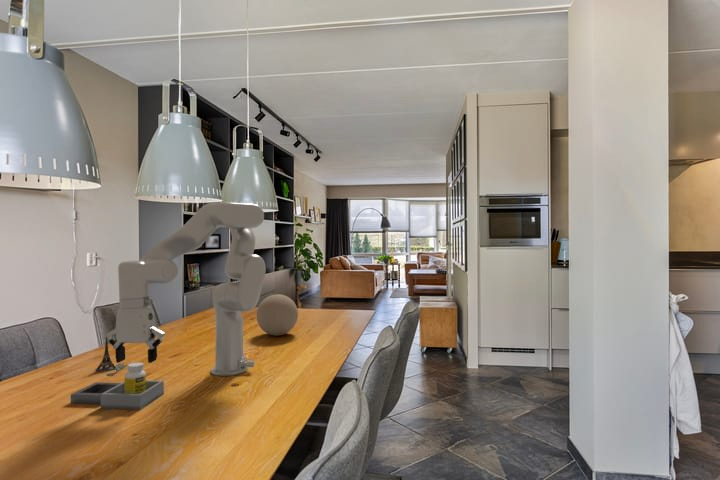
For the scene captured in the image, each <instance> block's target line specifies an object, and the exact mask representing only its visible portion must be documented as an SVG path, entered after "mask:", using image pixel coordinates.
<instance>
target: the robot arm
mask: <svg viewBox="0 0 720 480" xmlns="http://www.w3.org/2000/svg"><path fill="white" fill-rule="evenodd" d="M264 220H265V213H264V210H263V208H262V207H261V206H260V205H258V204H255V203H243V202H229V201H220V202H210V203H206V204H204V205H203V206H201V207H200V208H199V209H198V211H196V212H195V214H193V215H192V217H191V218H189V220H187V221H186V223H185V224H184V225H182V226H181V227H180V228H179V229H177V231H175V232H173V233H172V234H170V235H169V236H166V238H163V240H161V241H159V242H158V243H156V244H155V245H154V246H153V247H152V248H151V249H149V250H148V251H147V252H146V253H145V255H144V256H142V258H140V260H128V261H127V260H126V261H122V262H120V263H118V268H117V269H118V270H117V272H118V275H117V276H118V292H119V293H118V296H119V297H118V298H119V302H118V303H119V308H118V309H117V312H116V320H115V328H114V329H112V330H111V331H110V330H109V332H107V333H106V334H105V336H107V338H108V339H107V340H109V341H108V343H110V345H111V346H112V348H113V349H114V350H115V351H114V352H115V361H116V363H117V364H120V362H121V363H122V362H123V361H125V360H126V346H125V344H145V345H146V346H147V347H148V349H147V363H148V364H151V363H154V362H155V361H157V358H158V347H159V345H160V344H161V343H162V342H163V340H164V338H165V335H166V332H164V331H162V330H161V329H159V328H157V325H156V324H157V323H156V317H155V312H154V310H153V307H152V306H150V305H151V304H153V299H150V295H149V284H151V285H152V284H156V285H157V284H162V285H163V284H168V283H171V282H172V281H174V280H175V279H176V278H177V276H178V274H179V269H178V266H177V264H176V263H175V262H174V260H175V259H177V258H178V257H180V256H182V255H185V254H188V253H190V252H193V251H195V250H198V249H199V248H200V247H202V245H203V244H204V243H205V242H206V241H207V240H208V239H209V238H210V237H211V236H212V235H213V234H214V233H215V231H216V230H218V229H219V228H228V229H229V231H230V234H231V242H230V243H231V244H230V248H229V252H228V253H227V254H228V255H227V258H226V262H225V266H224V273H225V275H226V276H227V278H230V279H232V280H236V281H237V280H239V282H230V281H229V282H228V281H227V282H223V283H220V284H218V285H217V286H216V287H215V289H214V290H213V294H212V303H213V309H214V316H215V318H214V319H215V365H213V366H212V367H211V369H210V373H211V375H212V374H213V375H214V376H221V377H224V376H225V377H229V376H235V375H240V374H242V373H245V372H246V371H248V368H255V361H254V360H253V359H247V357H246V355H244V316H243V312H244V313H245V312H250V311H252V310H254V309H255V307H256V306H257V304H258V302H259V300H260V296H261V292H262V288H263V284H264V281H265V277H266V273H267V272H266V271H267V269H266V263H265V261H264V258H263V257H261V256H260V255H258V254H254V251H255V247H256V237H255V235H254V231H253V230H252V229H254V228H257V227H260V225H262V223H263V222H264Z"/></svg>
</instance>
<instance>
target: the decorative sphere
mask: <svg viewBox="0 0 720 480" xmlns="http://www.w3.org/2000/svg"><path fill="white" fill-rule="evenodd" d="M297 307H298V306H297V305H296V303H295V302H294V300H293V299H292V298H290V297H289V296H286V295H285V294H280V293H279V294H272V295H268V296H267V297H265V298H264V299H263V300H261V302H260V303H259V305H258V308H257V311H256V322H257V325H258V326H259V328H260V329H261V330H262V332H264V333H266V334H268V335H269V336H270V335H271V336H275V337H276V336H282V335H286V334H288V333H289V332H291V330H292V329H294V327H295V325H297V322H298V317H299V312H298V311H299V310H298V308H297Z"/></svg>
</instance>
